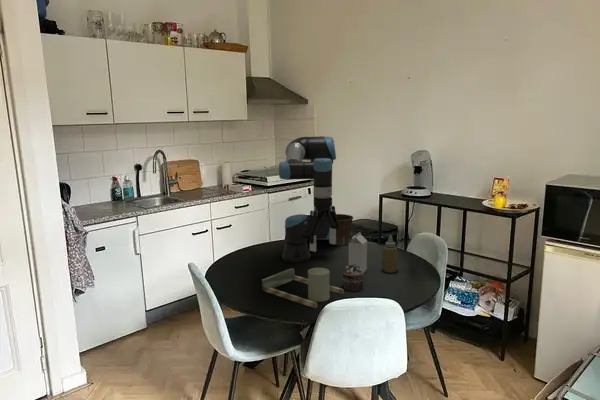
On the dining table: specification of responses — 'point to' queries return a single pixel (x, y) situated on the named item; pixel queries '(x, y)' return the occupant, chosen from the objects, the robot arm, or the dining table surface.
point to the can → (318, 284)
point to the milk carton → (358, 252)
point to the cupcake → (352, 278)
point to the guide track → (286, 277)
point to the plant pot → (343, 230)
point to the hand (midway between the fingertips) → (323, 247)
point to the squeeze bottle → (390, 256)
